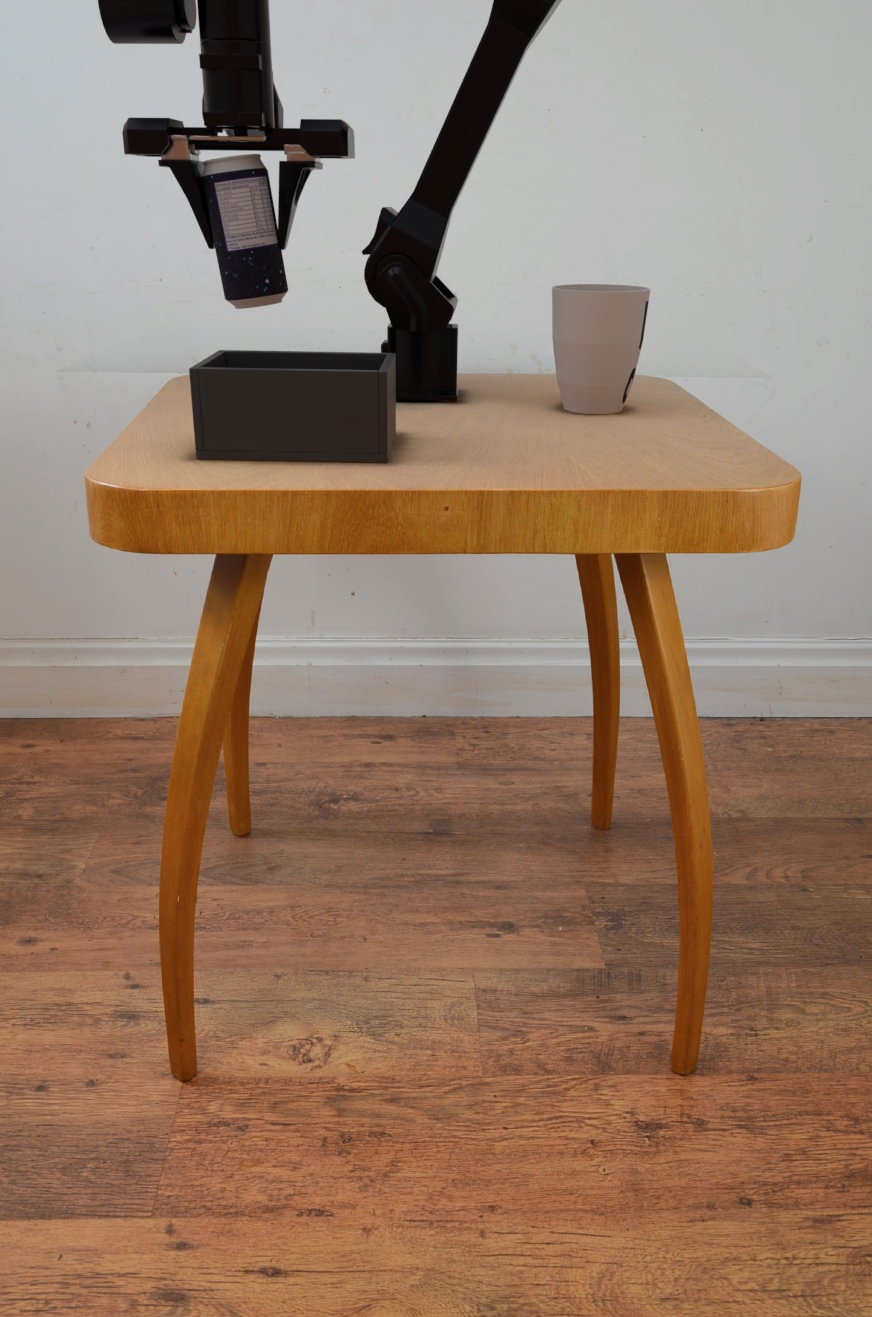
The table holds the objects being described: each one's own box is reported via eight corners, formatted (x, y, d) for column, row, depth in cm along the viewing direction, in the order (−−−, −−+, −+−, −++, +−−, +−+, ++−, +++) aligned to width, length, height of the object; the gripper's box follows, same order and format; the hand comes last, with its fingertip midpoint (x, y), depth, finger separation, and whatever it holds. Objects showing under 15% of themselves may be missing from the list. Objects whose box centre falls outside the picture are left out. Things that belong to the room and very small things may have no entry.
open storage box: (395, 434, 80) (395, 352, 77) (387, 462, 71) (387, 371, 69) (224, 431, 80) (218, 349, 77) (196, 459, 71) (188, 368, 69)
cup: (653, 416, 88) (664, 291, 84) (559, 418, 86) (567, 291, 82) (621, 399, 95) (631, 283, 91) (535, 401, 94) (541, 283, 90)
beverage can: (300, 298, 95) (276, 153, 90) (271, 306, 90) (244, 153, 85) (246, 304, 97) (220, 162, 92) (215, 312, 92) (185, 162, 87)
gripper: (359, 57, 92) (363, 246, 98) (151, 55, 93) (167, 244, 99) (344, 39, 82) (349, 252, 88) (110, 38, 82) (132, 249, 89)
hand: (247, 249), depth 91 cm, fingers closed on beverage can, 6 cm apart
